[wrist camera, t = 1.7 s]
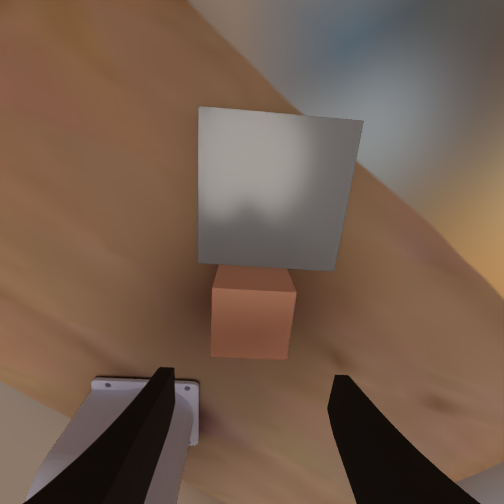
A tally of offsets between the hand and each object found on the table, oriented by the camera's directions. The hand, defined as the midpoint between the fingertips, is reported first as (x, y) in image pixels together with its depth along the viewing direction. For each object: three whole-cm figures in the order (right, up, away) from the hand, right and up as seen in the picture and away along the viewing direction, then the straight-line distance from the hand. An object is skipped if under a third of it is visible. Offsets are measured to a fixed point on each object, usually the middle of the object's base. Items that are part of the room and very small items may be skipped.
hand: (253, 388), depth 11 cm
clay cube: (0, +3, +9) cm, 10 cm away
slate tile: (+1, +10, +7) cm, 12 cm away
